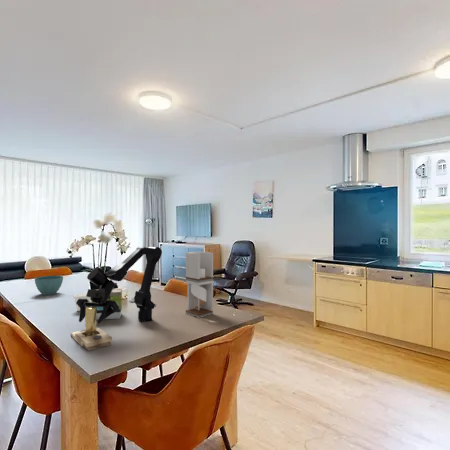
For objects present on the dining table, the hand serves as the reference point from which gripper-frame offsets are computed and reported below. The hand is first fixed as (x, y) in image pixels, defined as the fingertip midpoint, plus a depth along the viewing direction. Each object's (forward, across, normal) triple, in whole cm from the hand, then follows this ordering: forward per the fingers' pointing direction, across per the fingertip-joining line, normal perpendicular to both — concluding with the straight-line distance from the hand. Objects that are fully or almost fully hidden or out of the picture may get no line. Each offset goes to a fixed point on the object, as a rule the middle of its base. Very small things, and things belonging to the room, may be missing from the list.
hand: (88, 322), depth 129 cm
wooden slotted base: (+5, 0, +7) cm, 8 cm away
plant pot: (-47, -90, +59) cm, 118 cm away
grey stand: (-30, +34, +42) cm, 61 cm away
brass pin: (+5, 0, +7) cm, 8 cm away
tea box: (-18, -14, +29) cm, 37 cm away
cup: (-24, -36, +36) cm, 56 cm away
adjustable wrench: (-40, -10, +52) cm, 66 cm away
